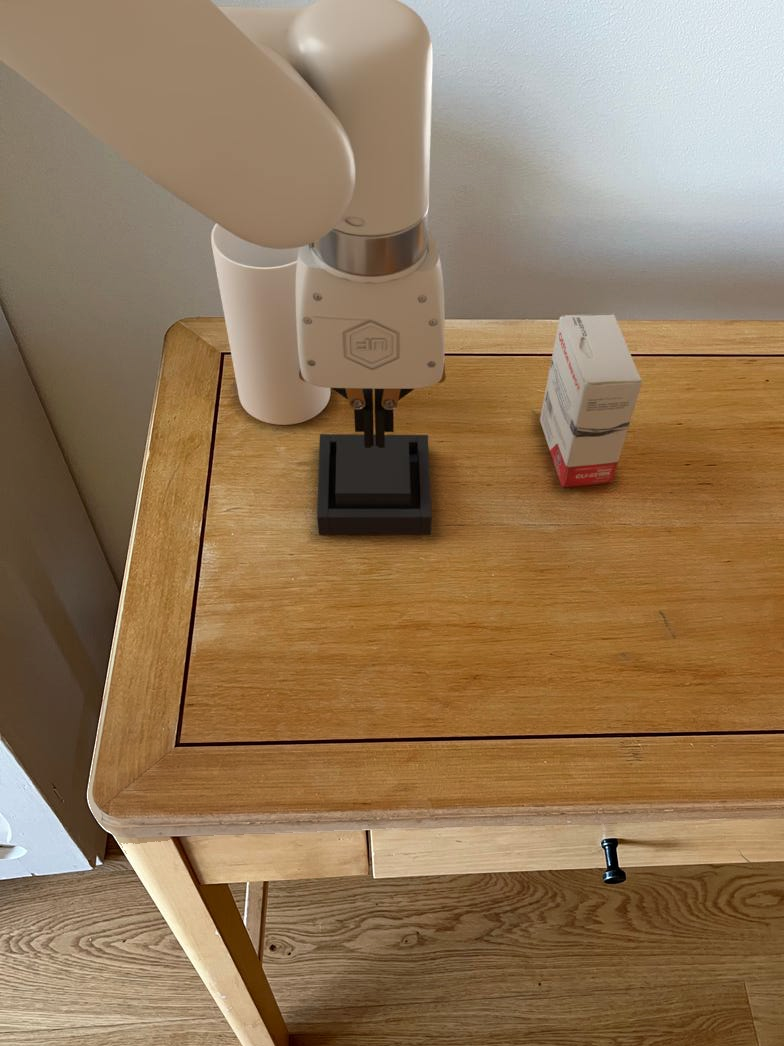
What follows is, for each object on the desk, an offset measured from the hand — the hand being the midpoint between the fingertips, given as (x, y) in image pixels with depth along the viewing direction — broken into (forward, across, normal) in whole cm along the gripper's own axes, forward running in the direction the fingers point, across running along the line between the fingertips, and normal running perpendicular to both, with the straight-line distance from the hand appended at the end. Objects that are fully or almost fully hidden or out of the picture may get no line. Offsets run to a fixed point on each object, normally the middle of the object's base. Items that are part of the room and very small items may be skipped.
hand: (374, 434), depth 76 cm
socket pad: (+7, 0, 0) cm, 7 cm away
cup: (+7, -8, +12) cm, 16 cm away
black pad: (+6, 0, 0) cm, 6 cm away
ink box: (+7, +18, +5) cm, 20 cm away
